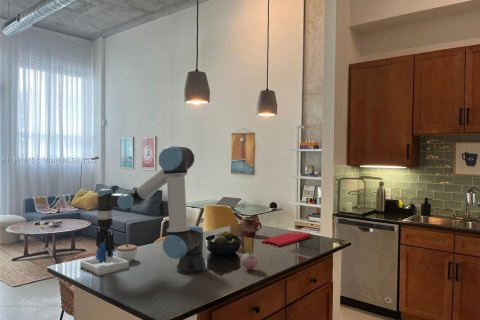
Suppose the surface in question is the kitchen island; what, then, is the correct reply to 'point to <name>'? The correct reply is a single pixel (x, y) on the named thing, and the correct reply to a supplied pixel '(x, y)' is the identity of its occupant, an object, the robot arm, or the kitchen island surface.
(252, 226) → the decorative planter
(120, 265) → the tray
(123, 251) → the lidded jar
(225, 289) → the kitchen island surface
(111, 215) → the robot arm
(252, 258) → the decorative fruit
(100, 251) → the grapes
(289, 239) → the dish drying mat
